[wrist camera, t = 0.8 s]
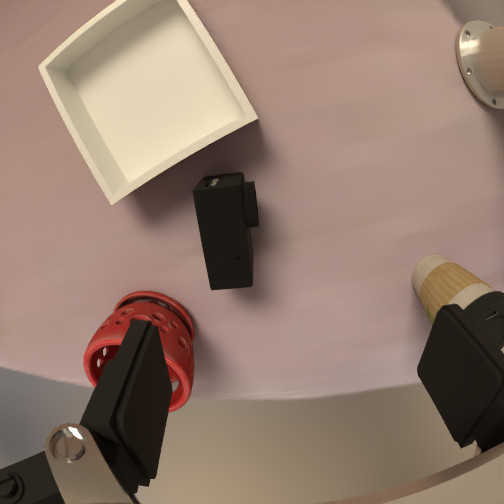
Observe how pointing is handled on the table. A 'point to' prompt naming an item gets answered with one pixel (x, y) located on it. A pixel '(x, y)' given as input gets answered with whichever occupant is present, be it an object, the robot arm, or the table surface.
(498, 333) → the coffee cup
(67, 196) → the table surface
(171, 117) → the box
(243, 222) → the digital camera
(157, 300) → the plant pot
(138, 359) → the robot arm
